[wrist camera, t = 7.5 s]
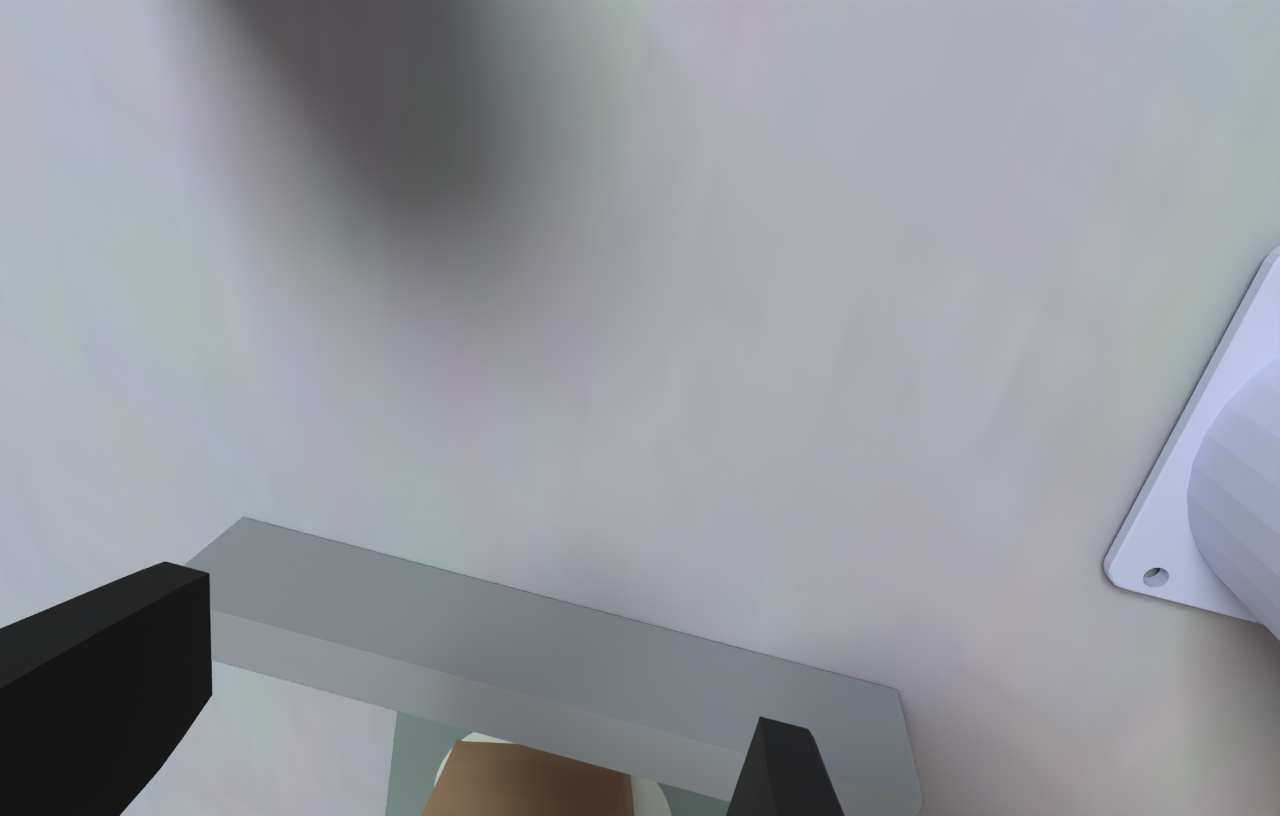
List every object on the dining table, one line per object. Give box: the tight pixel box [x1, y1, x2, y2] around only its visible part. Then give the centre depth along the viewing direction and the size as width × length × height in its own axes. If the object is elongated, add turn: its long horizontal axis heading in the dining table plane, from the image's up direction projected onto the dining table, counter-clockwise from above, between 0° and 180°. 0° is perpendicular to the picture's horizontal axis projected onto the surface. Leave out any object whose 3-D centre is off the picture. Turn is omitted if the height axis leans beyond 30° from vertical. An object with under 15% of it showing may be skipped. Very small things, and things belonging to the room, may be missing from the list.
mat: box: [385, 711, 730, 816], centre depth 23 cm, size 10×10×1 cm
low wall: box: [184, 517, 924, 816], centre depth 19 cm, size 18×2×4 cm, turn 79°
